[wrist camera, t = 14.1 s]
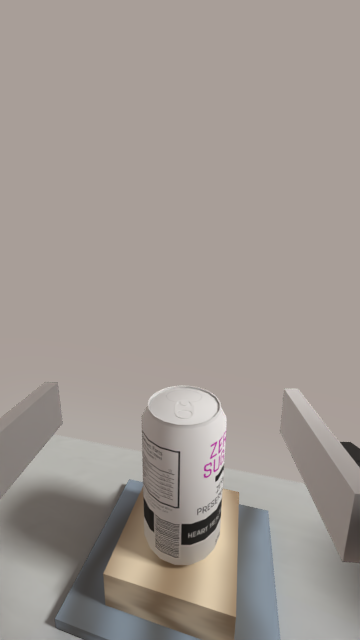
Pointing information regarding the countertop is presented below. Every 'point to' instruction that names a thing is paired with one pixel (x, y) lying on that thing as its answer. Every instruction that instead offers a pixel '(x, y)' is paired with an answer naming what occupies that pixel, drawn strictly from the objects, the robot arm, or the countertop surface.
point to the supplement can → (183, 473)
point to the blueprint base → (128, 628)
